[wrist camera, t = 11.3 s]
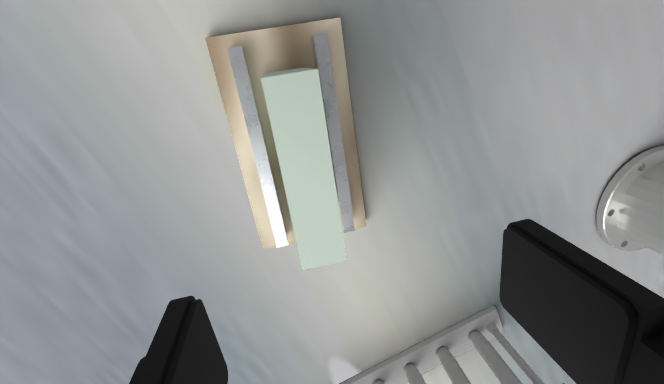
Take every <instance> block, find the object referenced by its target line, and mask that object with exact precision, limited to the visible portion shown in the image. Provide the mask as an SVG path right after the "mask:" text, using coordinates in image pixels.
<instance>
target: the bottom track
mask: <svg viewBox="0 0 664 384" xmlns="http://www.w3.org/2000/svg"><path fill="white" fill-rule="evenodd" d="M205 39H206V42H207V46H208V50H209V53H210V57H211V61H212V64H213V68H214V72H215V75H216V79H217V83H218V86H219V90H220V94H221V97H222V101H223V105H224V108H225V112H226V116H227V119H228V123H229V127H230V130H231V134H232V138H233V141H234V145H235V149H236V153H237V156H238V160H239V164H240V167H241V171H242V175H243V178H244V182H245V186H246V189H247V193H248V197H249V200H250V204H251V208H252V211H253V215H254V219H255V222H256V226H257V230H258V233H259V237H260V241H261V244H262V248H263V249H267V248H271V247H276V246H277V248H278V247H283V246H287V245H288V244H289V243H294V242H296V239H295V235H294V230H293V225H292V221H291V216H290V211H289V207H288V202H287V197H286V193H285V188H284V183H283V179H282V174H281V169H280V165H279V160H278V156H277V151H276V146H275V142H274V137H273V132H272V128H271V123H270V118H269V114H268V109H267V104H266V100H265V95H264V91H263V86H262V81H261V77H262V75H263V74H265V73H271V72H277V71H284V70H290V69H296V68H313V69H318V72H319V78H320V85H321V92H322V98H323V105H324V112H325V119H326V125H327V132H328V139H329V145H330V152H331V159H332V165H333V172H334V179H335V185H336V192H337V199H338V205H339V212H340V219H341V225H342V232H343V231H344V233H345V232H349V231H354V230H355V229H356V228H361V227H365V226H366V219H365V211H364V203H363V195H362V187H361V179H360V171H359V163H358V155H357V147H356V139H355V131H354V123H353V115H352V107H351V99H350V91H349V83H348V75H347V67H346V59H345V51H344V43H343V35H342V27H341V19H340V17H339V18H333V19H326V20H320V21H313V22H306V23H300V24H293V25H287V26H280V27H273V28H267V29H260V30H254V31H247V32H240V33H234V34H227V35H220V36H214V37H207V38H205Z"/></svg>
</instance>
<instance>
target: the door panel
mask: <svg viewBox="0 0 664 384" xmlns="http://www.w3.org/2000/svg"><path fill="white" fill-rule="evenodd" d="M261 81H262V86H263V91H264V95H265V100H266V104H267V109H268V114H269V118H270V123H271V128H272V132H273V137H274V142H275V146H276V151H277V156H278V160H279V165H280V169H281V174H282V179H283V183H284V188H285V193H286V197H287V202H288V207H289V211H290V216H291V221H292V225H293V230H294V235H295V239H296V244H297V248H298V253H299V258H300V262H301V267H302V270H306V269H310V268H315V267H319V266H323V265H328V264H332V263H337V262H341V261H345V260H347V259H346V252H345V245H344V239H343V232H342V225H341V219H340V212H339V205H338V199H337V192H336V185H335V179H334V172H333V165H332V159H331V152H330V145H329V139H328V132H327V125H326V119H325V112H324V105H323V98H322V92H321V85H320V78H319V72H318V69H313V68H296V69H290V70H284V71H277V72H271V73H265V74H263V75H262V77H261Z"/></svg>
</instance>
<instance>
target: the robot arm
mask: <svg viewBox="0 0 664 384" xmlns="http://www.w3.org/2000/svg"><path fill="white" fill-rule="evenodd" d="M596 222H597V228H598V231H599V233H600V236H601V237H602V238H603V239H604V240H605V242H607V243H609V244H610V245H612V246H614V247H616V248H618V249H620V250H626V251H633V250H640V249H644V248H649V249H651V250H653V251H655V252H657V253H660V254H662V255H664V146H659V147H655V148H652V149H649V150H647V151H645V152H643V153H641V154H639V155H638V156H636V157H634V158H633V159H631V160H630V161H629V162H628V163H626V164H625V165H624V166H623V167H622V168H621V169H620V170H619V171H618V172H617V173H616V174H615V176H614V177H613V178H612V180H611V181H610V182H609V184H608V185H607V187H606V189H605V190H604V192H603V194H602V197H601V199H600V202H599V205H598V209H597V219H596ZM500 301H501V303H502V305H503V307H504V308H505V309H506V310H507V312H508V313H509V314H510V315H511V316H512V317H513V318H514V319H515V320H516V321H517V322H518V323H519V324H520V325H521V326H522V327H523V328H524V329H525V330H526V331H527V332H528V333H529V334H530V336H531V337H532V338H533V339H534V340H535V341H536V342H537V343H538V344H539V345H540V346H541V347H542V348H543V349H544V350H545V351H546V352H547V353H548V354H549V355H550V356H551V357H552V358H553V360H554V361H555V362H556V363H557V364H558V365H559V366H560V367H561V368H562V369H563V370H564V371H565V372H566V373H567V374H568V375H569V376H570V377H571V378H572V379H573V380H574V381H575V382H576V384H664V298H662V297H661V296H659V295H657V294H656V293H654V292H652V291H651V290H649V289H647V288H646V287H644V286H642V285H640V284H639V283H637V282H635V281H634V280H632V279H630V278H629V277H627V276H625V275H624V274H622V273H620V272H619V271H617V270H615V269H614V268H612V267H610V266H608V265H607V264H605V263H603V262H602V261H600V260H598V259H597V258H595V257H593V256H592V255H590V254H588V253H587V252H585V251H583V250H582V249H580V248H578V247H576V246H575V245H573V244H571V243H570V242H568V241H566V240H565V239H563V238H561V237H560V236H558V235H556V234H555V233H553V232H551V231H550V230H548V229H546V228H545V227H543V226H541V225H539V224H538V223H536V222H534V221H533V220H530V219H525V220H521V221H516V222H512V223H510V224H509V225H508V226H507V229H505V230H504V233H503V248H502V265H501V282H500ZM227 382H228V370H227V365H226V363H225V360H224V357H223V355H222V352H221V349H220V347H219V344H218V342H217V339H216V336H215V334H214V331H213V328H212V326H211V323H210V320H209V318H208V315H207V313H206V310H205V307H204V305H203V302H202V300H201V299H198V300H195V298H194V297H193V296H188V297H183V298H179V299H175V300H171V301H170V302H169V304H168V306H167V308H166V311H165V313H164V315H163V318H162V320H161V322H160V325H159V327H158V329H157V331H156V334H155V336H154V338H153V341H152V343H151V345H150V348H149V350H148V352H147V355H146V357H144V358H142V359H141V360H140V362H139V363H138V365H137V367H136V370H135V372H134V374H133V376H132V378H131V381H130V383H129V384H227Z"/></svg>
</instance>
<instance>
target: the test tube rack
mask: <svg viewBox="0 0 664 384" xmlns="http://www.w3.org/2000/svg"><path fill="white" fill-rule="evenodd" d="M502 333H504V330H503V327H502V324H501V321H500V318H499V315H498V312H497V309H496V308H495V307H494V306H493V305H492V306H490V307H488V308H486V309H484V310H482V311H480V312H478V313H476V314H475V315H473V316H471V317H469V318H467V319H465V320H463V321H461V322H459V323H457V324H455V325H453V326H451V327H449V328H447V329H445V330H443V331H441V332H440V333H438V334H436V335H434V336H432V337H430V338H428V339H426V340H424V341H422V342H420V343H418V344H416V345H414V346H412V347H410V348H408V349H406V350H405V351H403V352H401V353H399V354H397V355H395V356H393V357H391V358H389V359H387V360H385V361H383V362H381V363H379V364H377V365H375V366H373V367H371V368H369V369H368V370H366V371H364V372H362V373H359V374H357V375H355V376H353V377H351V378H349V379H347V380H345V381H343V382H341V383H339V384H405V383H407V382H409V383H410V384H426V383H425V381H424V379H423V377H422V374H424V373H426V372H428V371H430V370H432V369H434V368H436V367H438V366H440V365H443V367H444V369H445V371H446V373H447V374H448V376H449V378H450V379H451V381H452V383H453V384H471V383H470V381H469V380H468V378H467V376H466V375H465V373H464V372H463V370H462V369H461V367H460V365H459V364H458V362H457V361H456V359H455V357H457V356H459V355H461V354H463V353H465V352H467V351H469V350H471V349H473V348H476V349H477V351H478V352H479V354H480V355H481V356H482V358H483V359H484V360H485V362H486V363H487V365H488V366H489V367H490V369H491V370H492V371H493V373H494V374H495V376H496V377H497V378H498V380H499V381H500V382H501V384H522V383H521V381H520V380H519V379H518V378H517V376H516V375H515V374H514V373H513V371H512V370H511V369H510V368H509V366H508V365H507V364H506V363H505V361H504V360H503V359H502V357H501V356H500V355H499V354H498V352H497V351H496V350H495V349H494V347H493V346H492V345H491V344H490V342H489V340H491V339H492V338H494V337H495V338H496V339H497V340H498V341H499V342H500V344H501V345H502V346H503V347H504V348H505V350H506V351H507V352H508V353H509V354H510V356H511V357H512V358H513V359H514V360H515V362H516V363H517V364H518V365H519V366H520V368H521V369H522V370H523V371H524V372H525V374H526V375H527V376H528V377H529V379H530V380H531V381H532V382H533V383H534V384H544V383H543V382H542V380H541V379H540V378H539V377H538V376H537V375H536V374H535V372H534V371H533V370H532V369H531V368H530V367H529V365H528V364H527V363H526V362H525V361H524V360H523V358H522V357H521V356H520V355H519V354H518V353H517V351H516V350H515V349H514V348H513V347H512V346H511V345H510V343H509V342H508V341H507V340H506V339H505V338H504V336H503V335H502ZM563 384H565V383H563Z"/></svg>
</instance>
